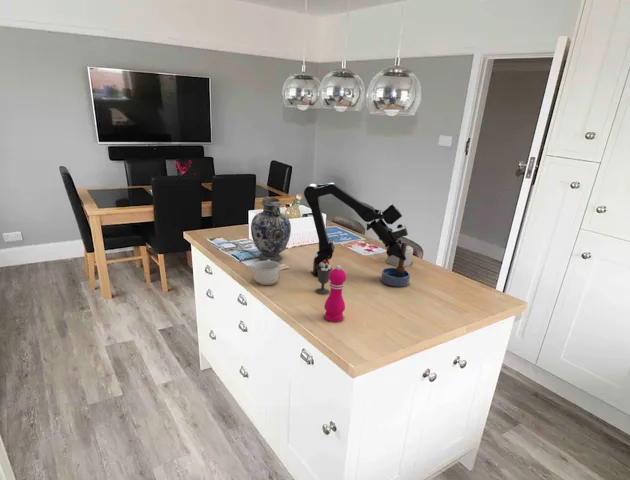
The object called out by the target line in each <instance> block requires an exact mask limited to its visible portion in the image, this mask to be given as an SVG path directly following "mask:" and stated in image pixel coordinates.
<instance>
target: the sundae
mask: <svg viewBox="0 0 630 480" xmlns="http://www.w3.org/2000/svg"><path fill="white" fill-rule="evenodd" d="M329 257H330V256H328V257H327V258H329ZM316 270H317V271H318V276H317V279H318V282H319V283H320V284H321V286H320V288H317V289H316V293H317V294H320V295H327V294H329V293H330V291H329V290H328V289H327V288H325V285H326V284H327V283H328V282H329V281H330V280H329V273H330V271H331V270H333V267H332V266H331V263H330V260H328V261H327V262H326V259H325V260H323V261H322V262H321V263H320V264H319V265H318V264H317V267H316Z"/></svg>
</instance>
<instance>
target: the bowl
mask: <svg viewBox="0 0 630 480" xmlns="http://www.w3.org/2000/svg"><path fill="white" fill-rule="evenodd" d="M410 278H411V273H410V272H409V271H408V270H406V269H405V270H404V274H403V275H399V274H396V267H385V268H383V269H381V275H380V281H381V282H382V283H383V284H385V285H387V286H390V287H394V288H395V287H396V288H400V287H406V286H408V285H409V283H410Z"/></svg>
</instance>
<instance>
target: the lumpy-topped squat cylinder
mask: <svg viewBox="0 0 630 480" xmlns="http://www.w3.org/2000/svg"><path fill="white" fill-rule="evenodd" d="M386 255H387V254H386ZM413 255H414V248H413V247H412V246H411V245H407V246H406V253H405V256H406V260H404V265H403V266H404V267H407V266H411V264H412V260H413ZM386 263H387V264H390V265H392V266H394V267H397V266H398V264H399V258H398V257H396V256H393V255H392V256H390V257H389V256H388V255H387V256H386Z"/></svg>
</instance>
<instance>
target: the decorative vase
mask: <svg viewBox="0 0 630 480" xmlns="http://www.w3.org/2000/svg"><path fill="white" fill-rule="evenodd" d="M260 204H261V205H262V206H263V208H262V210H263V211H261V212H259V213H256V214H255V215H254V216H253V218H252V219H251V224H250V232H251V238H252V241H253V243H254V246H255V247H256V249H257V250H258V251H259V253H260V254H258V258H259V259H260V260H261V261H267V260H271V261H275V262H278V261H280V260H282V256H281V253H283V252H284V251H285V250H286V249H287V246H288V244H289V241H290V237H291V233H292V225H291V221H290V219H289V217H287V216H286V214H284V213H281V207H280V206H282V205H283V202H281V200H280V199H279V198H276V197H269V196H267V195H266V196H265V198H263V199H262V201H260Z"/></svg>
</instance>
